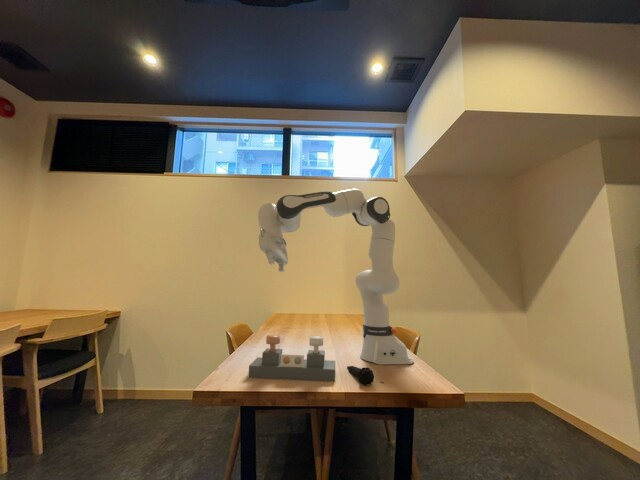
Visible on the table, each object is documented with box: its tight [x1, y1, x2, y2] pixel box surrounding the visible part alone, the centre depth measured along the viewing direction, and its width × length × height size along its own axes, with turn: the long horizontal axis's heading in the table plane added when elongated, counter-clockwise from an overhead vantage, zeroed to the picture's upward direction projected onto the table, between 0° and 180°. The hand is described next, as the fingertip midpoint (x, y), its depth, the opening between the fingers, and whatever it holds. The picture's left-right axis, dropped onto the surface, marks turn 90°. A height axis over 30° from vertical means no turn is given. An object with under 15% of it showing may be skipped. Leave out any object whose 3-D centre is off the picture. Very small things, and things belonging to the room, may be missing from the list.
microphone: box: [347, 365, 375, 386], centre depth 99 cm, size 6×6×20 cm
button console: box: [247, 347, 336, 383], centre depth 100 cm, size 30×10×8 cm, turn 86°
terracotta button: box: [265, 334, 281, 352], centre depth 101 cm, size 5×5×6 cm
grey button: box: [309, 335, 324, 354], centre depth 100 cm, size 5×5×6 cm
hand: (276, 267), depth 108 cm, fingers open, 8 cm apart
